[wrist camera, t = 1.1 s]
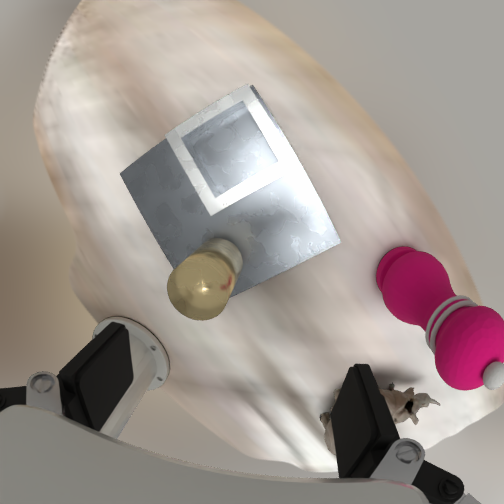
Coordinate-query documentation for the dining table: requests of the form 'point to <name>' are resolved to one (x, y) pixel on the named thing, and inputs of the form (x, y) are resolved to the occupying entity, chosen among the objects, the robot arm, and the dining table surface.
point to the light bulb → (205, 279)
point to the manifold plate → (231, 190)
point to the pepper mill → (444, 319)
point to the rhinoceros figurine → (395, 405)
